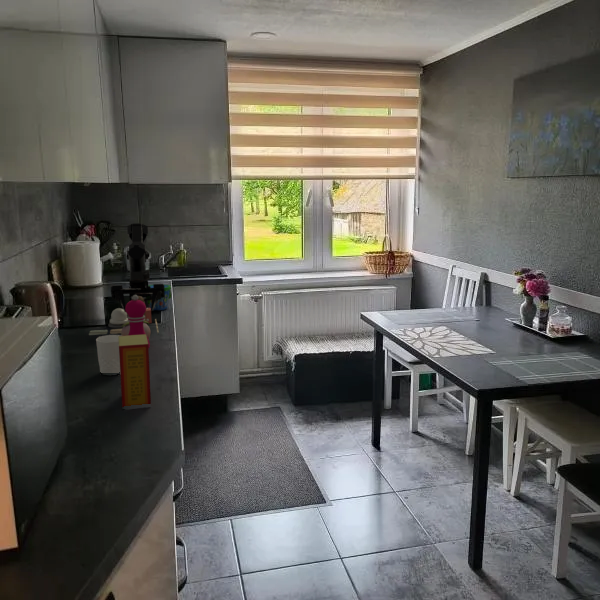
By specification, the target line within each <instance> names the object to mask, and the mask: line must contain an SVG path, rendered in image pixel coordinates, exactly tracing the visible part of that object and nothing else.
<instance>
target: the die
mask: <svg viewBox="0 0 600 600" xmlns="http://www.w3.org/2000/svg"><path fill="white" fill-rule="evenodd" d="M145 317H146V321H147V322H148V323H149V324H153V323H152V311H151V308H150V307H148V308H146V312H145ZM148 323H147V324H148Z"/></svg>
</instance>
